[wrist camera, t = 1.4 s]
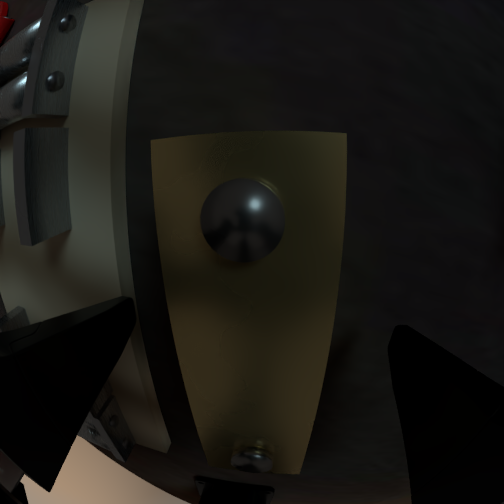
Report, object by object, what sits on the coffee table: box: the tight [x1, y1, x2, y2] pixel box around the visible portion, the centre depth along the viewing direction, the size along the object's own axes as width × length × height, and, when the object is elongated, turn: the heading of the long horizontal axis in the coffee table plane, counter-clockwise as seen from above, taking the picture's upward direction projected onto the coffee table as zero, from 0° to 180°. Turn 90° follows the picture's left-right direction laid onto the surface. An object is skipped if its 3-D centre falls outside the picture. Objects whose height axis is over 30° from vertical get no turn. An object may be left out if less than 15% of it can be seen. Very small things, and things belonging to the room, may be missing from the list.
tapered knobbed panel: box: [151, 131, 347, 474], centre depth 8 cm, size 11×4×5 cm, turn 1°
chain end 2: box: [0, 306, 136, 462], centre depth 12 cm, size 10×7×2 cm
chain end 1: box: [0, 0, 89, 246], centre depth 7 cm, size 10×7×2 cm
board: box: [0, 0, 171, 453], centre depth 11 cm, size 25×11×1 cm, turn 177°
